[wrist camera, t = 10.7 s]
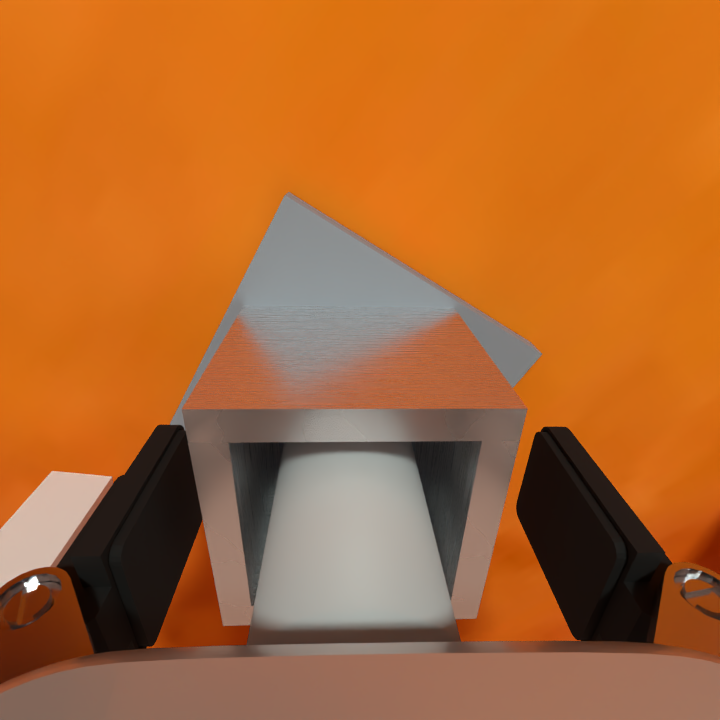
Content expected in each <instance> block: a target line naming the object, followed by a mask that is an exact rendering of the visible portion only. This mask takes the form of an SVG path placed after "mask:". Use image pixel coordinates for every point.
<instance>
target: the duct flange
mask: <svg viewBox="0 0 720 720" xmlns="http://www.w3.org/2000/svg"><path fill="white" fill-rule="evenodd" d="M244 305H250V306H342V307H433V308H455V310H456V311H457V312H458V314H459V315H460V316H461V318H462V319H463V321H464V322H465V323H466V325H467V326H468V327H469V329H470V330H471V332H472V333H473V334H474V336H475V337H476V338H477V340H478V341H479V343H480V344H481V345H482V347H483V348H484V349H485V351H486V352H487V354H488V355H489V356H490V358H491V359H492V360H493V362H494V363H495V365H496V366H497V367H498V369H499V370H500V371H501V373H502V374H503V376H504V377H505V378H506V380H507V381H508V383H509V384H510V385H511V387H512V388H513V387H514V386H515V385H516V384H517V382H518V381H519V380H520V379H521V378H522V377H523V375H524V374H525V373H526V372H527V371H528V370H529V369H530V367H531V366H532V365H533V364H534V363H535V362H536V361H537V359H538V358H539V357H540V356H541V355H542V353H541V352H540V351H539V350H538V349H537V348H536V347H535V346H534V345H533V344H532V343H531V342H529V341H528V340H526V339H524V338H523V337H521V336H520V335H518V334H516V333H515V332H513V331H512V330H510V329H508V328H507V327H505V326H503V325H502V324H500V323H499V322H497V321H495V320H494V319H492V318H491V317H489V316H487V315H486V314H484V313H483V312H481V311H479V310H478V309H476V308H475V307H473V306H471V305H470V304H468V303H466V302H465V301H463V300H462V299H460V298H458V297H457V296H455V295H454V294H452V293H450V292H449V291H447V290H446V289H444V288H442V287H441V286H439V285H438V284H436V283H434V282H433V281H431V280H430V279H428V278H426V277H425V276H423V275H421V274H420V273H418V272H417V271H415V270H413V269H412V268H410V267H409V266H407V265H405V264H404V263H402V262H401V261H399V260H397V259H396V258H394V257H393V256H391V255H389V254H388V253H386V252H384V251H383V250H381V249H380V248H378V247H376V246H375V245H373V244H372V243H370V242H368V241H367V240H365V239H364V238H362V237H360V236H359V235H357V234H356V233H354V232H352V231H351V230H349V229H347V228H346V227H344V226H343V225H341V224H339V223H338V222H336V221H335V220H333V219H331V218H330V217H328V216H327V215H325V214H323V213H322V212H320V211H319V210H317V209H315V208H314V207H312V206H311V205H309V204H307V203H306V202H304V201H302V200H301V199H299V198H298V197H296V196H294V195H293V194H291V193H290V192H288V193H287V194H286V195H285V196H284V198H283V200H282V202H281V204H280V206H279V208H278V210H277V212H276V214H275V216H274V218H273V220H272V222H271V224H270V226H269V228H268V230H267V232H266V234H265V236H264V238H263V240H262V242H261V244H260V246H259V248H258V250H257V252H256V254H255V256H254V258H253V260H252V262H251V264H250V266H249V268H248V270H247V272H246V274H245V276H244V278H243V280H242V282H241V284H240V286H239V288H238V290H237V292H236V294H235V296H234V298H233V300H232V302H231V304H230V306H229V308H228V310H227V312H226V314H225V316H224V318H223V320H222V322H221V324H220V326H219V328H218V330H217V332H216V334H215V336H214V338H213V340H212V341H211V343H210V345H209V347H208V349H207V351H206V353H205V355H204V357H203V359H202V361H201V363H200V365H199V367H198V369H197V371H196V373H195V375H194V377H193V379H192V381H191V383H190V385H189V387H188V389H187V391H186V393H185V395H184V397H183V399H182V401H181V403H180V405H179V407H178V409H177V411H176V413H175V415H174V417H173V419H172V421H171V423H170V425H182V426H183V427H184V430H185V425H184V420H183V414H182V408H183V406H184V404H185V403H186V401H187V399H188V398H189V396H190V394H191V393H192V391H193V389H194V388H195V386H196V384H197V383H198V381H199V379H200V378H201V376H202V374H203V373H204V371H205V369H206V368H207V366H208V364H209V363H210V361H211V359H212V358H213V356H214V354H215V353H216V351H217V349H218V348H219V346H220V344H221V343H222V341H223V339H224V338H225V336H226V334H227V333H228V331H229V329H230V328H231V326H232V324H233V323H234V321H235V319H236V318H237V316H238V314H239V313H240V311H241V309H242V308H243V306H244ZM415 443H416V441H406V442H279V448H280V455H282V456H281V462H280V467H279V473H278V478H277V483H276V489H275V494H274V500H273V505H272V511H271V516H270V521H269V527H268V532H267V538H266V543H265V548H264V554H263V559H262V565H261V570H260V576H259V581H258V586H257V592H256V597H255V603H254V608H253V614H252V619H251V624H250V630H249V635H248V641H247V645H284V644H335V643H401V642H461V640H460V636H459V632H458V628H457V624H456V620H455V616H454V612H453V608H452V604H451V600H450V596H449V592H448V588H447V584H446V580H445V576H444V572H443V568H442V564H441V560H440V556H439V552H438V548H437V544H436V540H435V536H434V532H433V528H432V524H431V519H430V515H429V511H428V507H427V503H426V499H425V495H424V491H423V487H422V483H421V479H420V475H419V471H418V467H417V463H416V459H415V455H414V452H415Z"/></svg>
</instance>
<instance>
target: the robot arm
mask: <svg viewBox="0 0 720 720" xmlns="http://www.w3.org/2000/svg"><path fill="white" fill-rule="evenodd" d="M516 510H517V515H518V518H519V520H520V522H521V524H522V527H523V529H524V531H525V533H526V535H527V537H528V540H529V542H530V544H531V546H532V548H533V550H534V553H535V555H536V557H537V559H538V561H539V564H540V566H541V568H542V570H543V572H544V574H545V577H546V579H547V581H548V583H549V585H550V587H551V590H552V592H553V594H554V596H555V598H556V600H557V603H558V605H559V607H560V609H561V611H562V614H563V616H564V618H565V620H566V622H567V624H568V627H569V629H570V631H571V633H572V635H573V636H574V637H575V639H577V640H581V641H484V642H401V643H335V644H284V645H235V646H200V647H174V648H148V649H146V647H147V646H153V645H154V643H155V642H156V640H157V637H158V635H159V632H160V629H161V627H162V624H163V622H164V619H165V616H166V614H167V611H168V608H169V606H170V603H171V601H172V598H173V595H174V593H175V590H176V588H177V585H178V582H179V580H180V577H181V574H182V572H183V569H184V567H185V564H186V561H187V559H188V556H189V553H190V551H191V548H192V546H193V543H194V540H195V538H196V535H197V533H198V530H199V527H200V525H201V522H202V513H201V508H200V503H199V498H198V493H197V487H196V482H195V477H194V472H193V466H192V461H191V456H190V451H189V446H188V440H187V435H186V430H184V427H183V426H182V425H158V426H157V427H156V428H155V430H154V431H153V433H152V434H151V436H150V437H149V439H148V440H147V442H146V443H145V445H144V446H143V448H142V449H141V451H140V452H139V454H138V455H137V457H136V458H135V460H134V461H133V463H132V464H131V466H130V467H129V469H128V470H127V472H126V473H125V475H122V476H120V477H118V478H117V480H116V481H115V482H114V483H113V485H112V486H111V488H110V489H109V490H108V492H107V493H106V495H105V496H104V498H103V499H102V501H101V502H100V504H99V505H98V507H97V508H96V509H95V511H94V512H93V514H92V515H91V517H90V518H89V520H88V521H87V523H86V524H85V526H84V527H83V528H82V530H81V531H80V533H79V534H78V536H77V537H76V539H75V540H74V542H73V543H72V545H71V546H70V547H69V549H68V550H67V552H66V553H65V555H64V556H63V558H62V559H61V561H60V562H59V564H58V565H57V566H56V567H43V568H38V569H33V570H31V571H28V572H26V573H23V574H21V575H19V576H17V577H15V578H14V579H12V580H10V581H9V582H7V583H6V584H4V585H3V586H2V587H1V588H0V720H720V575H719V574H717V573H715V572H714V571H712V570H710V569H708V568H705V567H703V566H700V565H697V564H693V563H688V562H678V563H673V564H672V562H671V561H670V560H669V559H668V557H667V556H666V555H665V552H664V550H663V549H662V548H661V546H660V545H659V544H658V543H657V541H656V540H655V539H654V537H653V536H652V535H651V534H650V532H649V531H648V530H647V529H646V527H645V526H644V525H643V523H642V522H641V521H640V520H639V518H638V517H637V516H636V514H635V513H634V512H633V511H632V509H631V508H630V507H629V505H628V504H627V503H626V502H625V500H624V499H623V498H622V496H621V495H620V494H619V493H618V491H617V490H616V489H615V487H614V486H613V485H612V484H611V482H610V481H609V480H608V478H607V477H606V476H605V475H604V473H603V472H602V471H601V470H600V468H599V467H598V466H597V464H596V463H595V462H594V461H593V459H592V458H591V457H590V455H589V454H588V453H587V452H586V450H585V449H584V448H583V446H582V445H581V444H580V443H579V441H578V440H577V439H576V437H575V436H574V435H573V434H572V432H571V431H570V430H569V429H568V428H567V427H543V429H542V430H541V432H537V433H536V434H535V437H534V440H533V444H532V448H531V452H530V455H529V459H528V463H527V466H526V470H525V474H524V478H523V481H522V485H521V489H520V493H519V496H518V500H517V505H516Z"/></svg>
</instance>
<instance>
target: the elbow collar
mask: <svg viewBox="0 0 720 720" xmlns="http://www.w3.org/2000/svg"><path fill="white" fill-rule="evenodd" d="M526 412H527V407H526V406H525V405H524V403H523V402H522V400H521V399H520V398H519V396H518V395H517V394H516V392H515V391H514V389H513V388H512V387H511V385H510V384H509V383H508V381H507V380H506V378H505V377H504V376H503V374H502V373H501V371H500V370H499V369H498V367H497V366H496V365H495V363H494V362H493V360H492V359H491V358H490V356H489V355H488V354H487V352H486V351H485V349H484V348H483V347H482V345H481V344H480V343H479V341H478V340H477V338H476V337H475V336H474V334H473V333H472V332H471V330H470V329H469V327H468V326H467V325H466V323H465V322H464V321H463V319H462V318H461V316H460V315H459V314H458V312H457V311H456V310H455V308H433V307H342V306H250V305H244V306H243V308H242V309H241V311H240V313H239V314H238V316H237V318H236V319H235V321H234V323H233V324H232V326H231V328H230V329H229V331H228V333H227V334H226V336H225V338H224V339H223V341H222V343H221V344H220V346H219V348H218V349H217V351H216V353H215V354H214V356H213V358H212V359H211V361H210V363H209V364H208V366H207V368H206V369H205V371H204V373H203V374H202V376H201V378H200V379H199V381H198V383H197V384H196V386H195V388H194V389H193V391H192V393H191V394H190V396H189V398H188V399H187V401H186V403H185V404H184V406H183V408H182V414H183V420H184V425H185V430H186V435H187V440H188V446H189V451H190V456H191V461H192V466H193V472H194V477H195V482H196V487H197V493H198V498H199V503H200V508H201V513H202V519H203V524H204V529H205V534H206V539H207V545H208V550H209V555H210V560H211V566H212V571H213V576H214V581H215V586H216V592H217V597H218V602H219V607H220V612H221V618H222V623H223V626H239V625H250V624H251V619H252V614H253V608H254V603H255V597H256V592H257V586H258V581H259V576H260V570H261V565H262V559H263V554H264V548H265V543H266V538H267V532H268V527H269V521H270V516H271V511H272V505H273V500H274V494H275V489H276V483H277V478H278V473H279V467H280V462H281V456H282V455H280V448H279V442H406V441H416V443H415V452H414V455H415V459H416V463H417V467H418V471H419V475H420V479H421V483H422V487H423V491H424V495H425V499H426V503H427V507H428V511H429V515H430V519H431V524H432V528H433V532H434V536H435V540H436V544H437V548H438V552H439V556H440V560H441V564H442V568H443V572H444V576H445V580H446V584H447V588H448V592H449V596H450V600H451V604H452V608H453V612H454V616H455V619H476V618H477V614H478V610H479V606H480V601H481V597H482V593H483V589H484V585H485V581H486V577H487V573H488V569H489V564H490V560H491V556H492V552H493V548H494V544H495V540H496V536H497V532H498V527H499V523H500V519H501V515H502V511H503V507H504V503H505V499H506V495H507V491H508V486H509V482H510V478H511V474H512V470H513V466H514V462H515V458H516V454H517V449H518V445H519V441H520V437H521V433H522V429H523V425H524V421H525V417H526Z"/></svg>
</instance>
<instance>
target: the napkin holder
mask: <svg viewBox="0 0 720 720" xmlns="http://www.w3.org/2000/svg"><path fill="white" fill-rule="evenodd" d="M112 485H113V480H112V477H111V476H100V475H89V474H79V473H68V472H57V471H52V472H51V473H50V474H49V475H48V476H47V477H46V478H45V480H44V481H43V482H42V483H41V484H40V485H39V486H38V487H37V489H36V490H35V491H34V492H33V493H32V494H31V495H30V496H29V498H28V499H27V500H26V501H25V502H24V503H23V504H22V506H21V507H20V508H19V509H18V510H17V511H16V512H15V513H14V515H13V516H12V517H11V518H10V519H9V520H8V521H7V522H6V524H5V525H4V526H3V527H2V528H1V529H0V588H1V587H2V586H3V585H4V584H6V583H7V582H9V581H10V580H12V579H14V578H15V577H17V576H19V575H21V574H23V573H26V572H28V571H31V570H33V569H38V568H43V567H56V566H57V565H58V564H59V562H60V561H61V559H62V558H63V556H64V555H65V553H66V552H67V550H68V549H69V547H70V546H71V545H72V543H73V542H74V540H75V539H76V537H77V536H78V534H79V533H80V531H81V530H82V528H83V527H84V526H85V524H86V523H87V521H88V520H89V518H90V517H91V515H92V514H93V512H94V511H95V509H96V508H97V507H98V505H99V504H100V502H101V501H102V499H103V498H104V496H105V495H106V493H107V492H108V490H109V489H110V488H111V486H112Z"/></svg>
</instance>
